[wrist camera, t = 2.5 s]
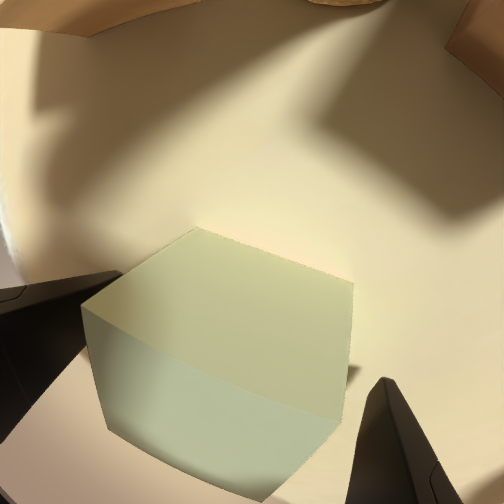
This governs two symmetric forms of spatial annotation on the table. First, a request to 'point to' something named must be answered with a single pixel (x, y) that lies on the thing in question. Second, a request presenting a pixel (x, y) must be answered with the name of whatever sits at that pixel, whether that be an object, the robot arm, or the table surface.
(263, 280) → the sage cube
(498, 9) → the walnut cube
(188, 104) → the table surface
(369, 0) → the spice jar
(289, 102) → the table surface
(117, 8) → the oak cube
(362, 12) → the table surface
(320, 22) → the table surface
